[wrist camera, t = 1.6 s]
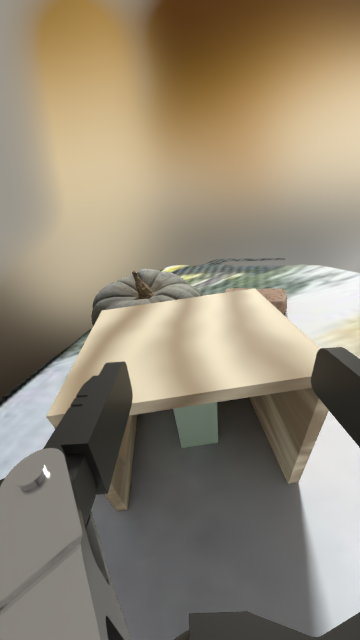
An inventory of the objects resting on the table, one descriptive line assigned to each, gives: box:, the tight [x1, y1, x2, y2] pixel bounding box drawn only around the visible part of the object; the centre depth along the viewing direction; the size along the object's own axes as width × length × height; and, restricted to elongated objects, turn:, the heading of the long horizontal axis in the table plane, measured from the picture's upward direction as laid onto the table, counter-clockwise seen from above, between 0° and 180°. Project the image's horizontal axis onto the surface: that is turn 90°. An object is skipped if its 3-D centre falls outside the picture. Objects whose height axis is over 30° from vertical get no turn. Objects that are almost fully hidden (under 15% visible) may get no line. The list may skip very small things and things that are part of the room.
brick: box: [225, 288, 287, 314], centre depth 56 cm, size 16×8×5 cm, turn 70°
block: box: [173, 402, 218, 448], centre depth 27 cm, size 5×5×10 cm
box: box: [46, 289, 329, 511], centre depth 25 cm, size 20×15×17 cm
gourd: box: [92, 268, 203, 326], centre depth 46 cm, size 25×25×17 cm
